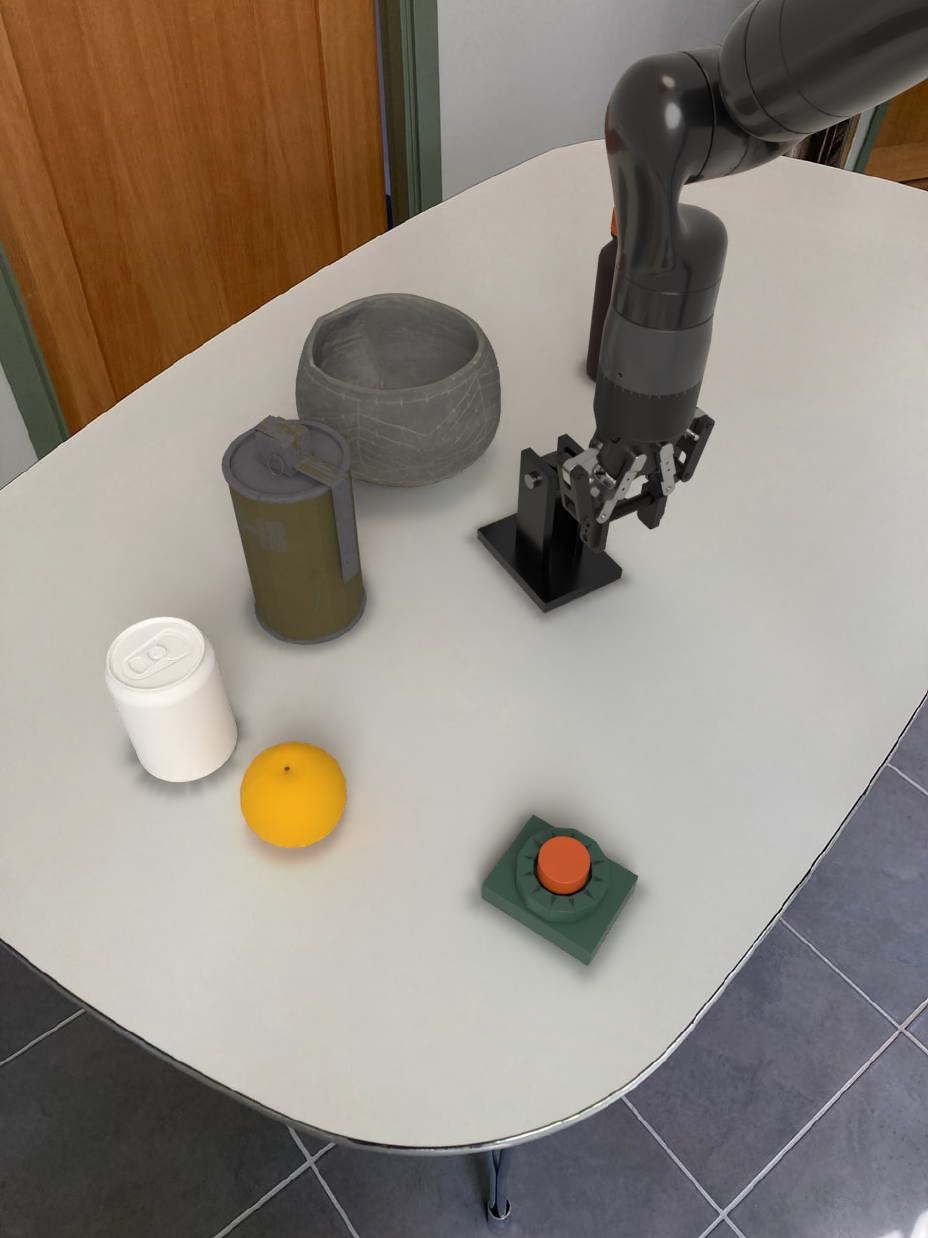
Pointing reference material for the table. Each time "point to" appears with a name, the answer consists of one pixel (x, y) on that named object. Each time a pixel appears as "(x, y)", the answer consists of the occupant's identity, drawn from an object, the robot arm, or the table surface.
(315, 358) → the bowl
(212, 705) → the beverage can
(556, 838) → the button
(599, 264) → the bottle
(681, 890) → the table surface
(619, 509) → the lever
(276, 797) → the orange
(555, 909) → the button box
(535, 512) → the bracket
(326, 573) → the canister
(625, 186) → the robot arm
